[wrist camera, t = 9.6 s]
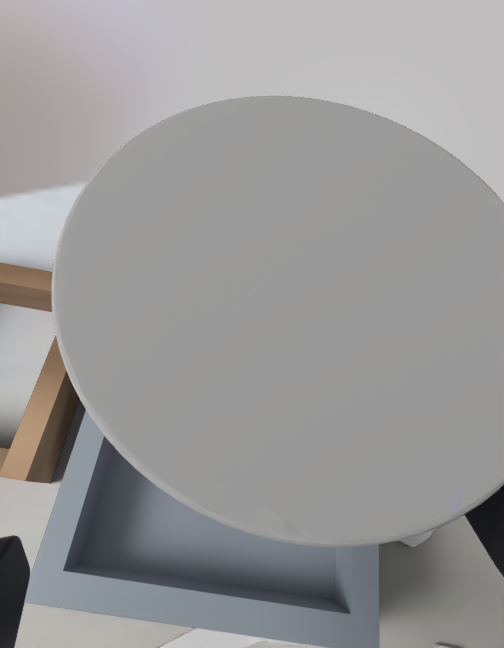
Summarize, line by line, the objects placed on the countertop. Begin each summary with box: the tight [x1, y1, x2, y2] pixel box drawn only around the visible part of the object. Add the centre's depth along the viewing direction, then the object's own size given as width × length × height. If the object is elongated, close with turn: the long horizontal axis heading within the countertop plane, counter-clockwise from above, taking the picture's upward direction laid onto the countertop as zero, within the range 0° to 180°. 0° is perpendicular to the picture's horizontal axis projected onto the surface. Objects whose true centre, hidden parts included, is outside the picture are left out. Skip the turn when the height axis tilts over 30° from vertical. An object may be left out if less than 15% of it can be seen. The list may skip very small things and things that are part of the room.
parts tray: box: [24, 410, 379, 648], centre depth 16 cm, size 12×12×3 cm
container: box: [52, 96, 504, 547], centre depth 10 cm, size 5×5×15 cm
